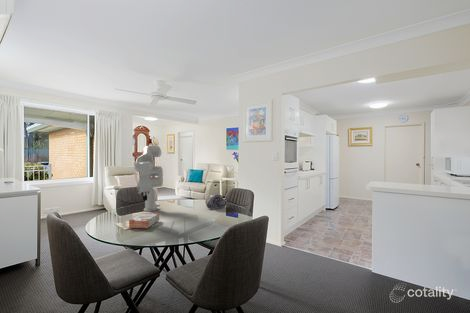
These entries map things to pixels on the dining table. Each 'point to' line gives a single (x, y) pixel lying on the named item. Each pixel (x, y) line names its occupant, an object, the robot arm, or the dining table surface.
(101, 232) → the dining table surface
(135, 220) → the cracker box
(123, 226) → the board
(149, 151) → the robot arm
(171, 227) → the dining table surface
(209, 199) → the toy elephant
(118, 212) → the dining table surface
